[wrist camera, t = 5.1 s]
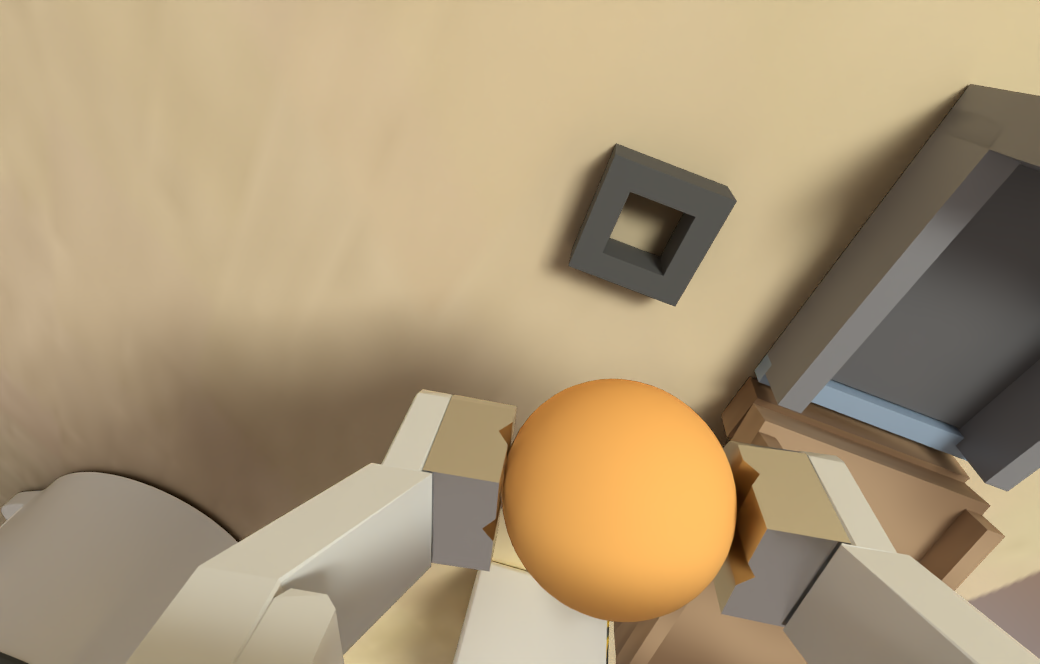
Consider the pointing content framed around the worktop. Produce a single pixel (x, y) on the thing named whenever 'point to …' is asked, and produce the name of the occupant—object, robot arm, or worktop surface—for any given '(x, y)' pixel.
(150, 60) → the worktop surface
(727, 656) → the launch ramp
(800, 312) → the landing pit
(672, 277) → the square nut
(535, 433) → the ball
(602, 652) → the medicine bottle
